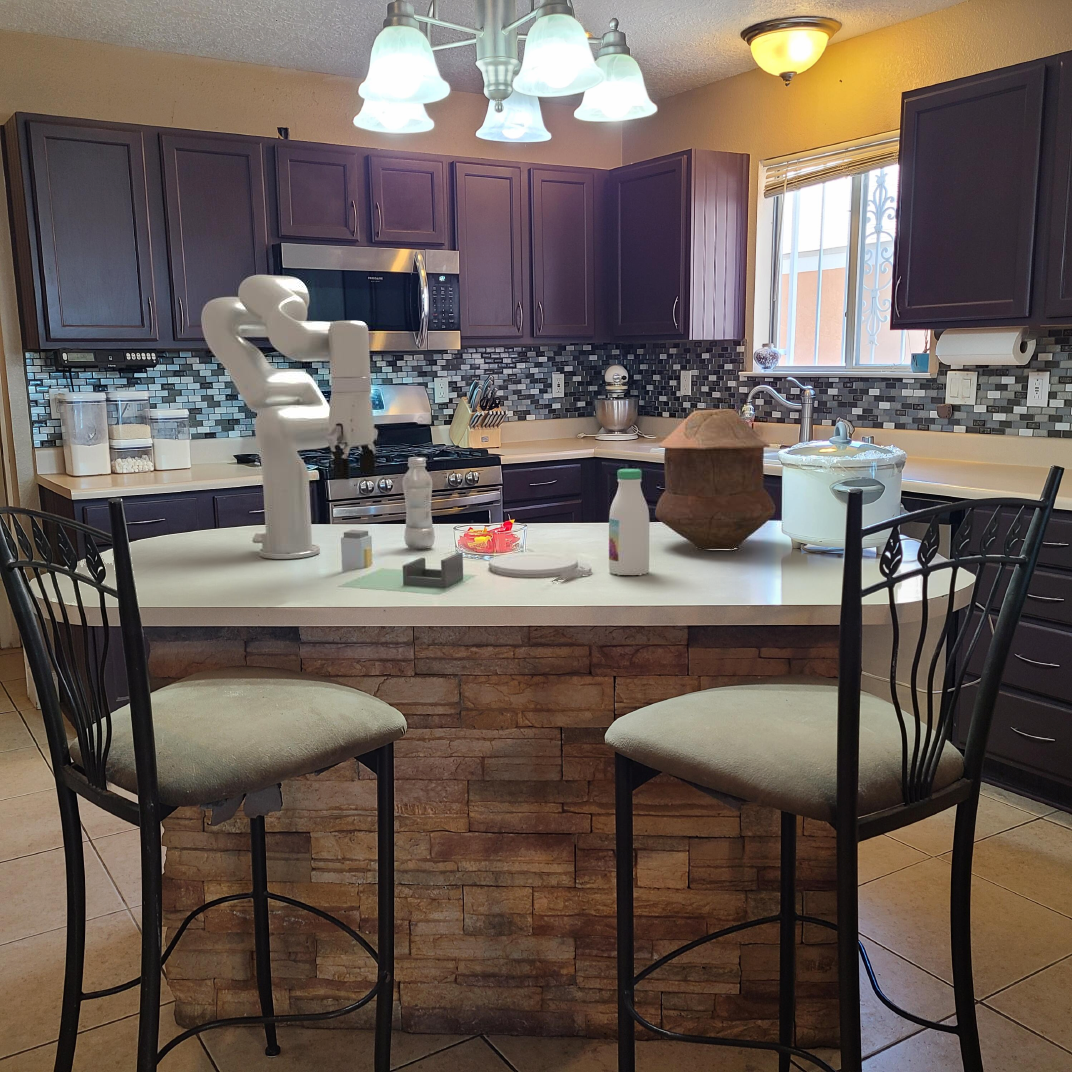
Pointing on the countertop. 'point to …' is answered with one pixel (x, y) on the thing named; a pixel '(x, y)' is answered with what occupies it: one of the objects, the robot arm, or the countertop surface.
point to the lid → (539, 565)
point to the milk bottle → (629, 526)
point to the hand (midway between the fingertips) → (355, 476)
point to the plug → (356, 550)
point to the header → (434, 573)
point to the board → (395, 582)
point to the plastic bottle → (418, 505)
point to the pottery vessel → (714, 480)
